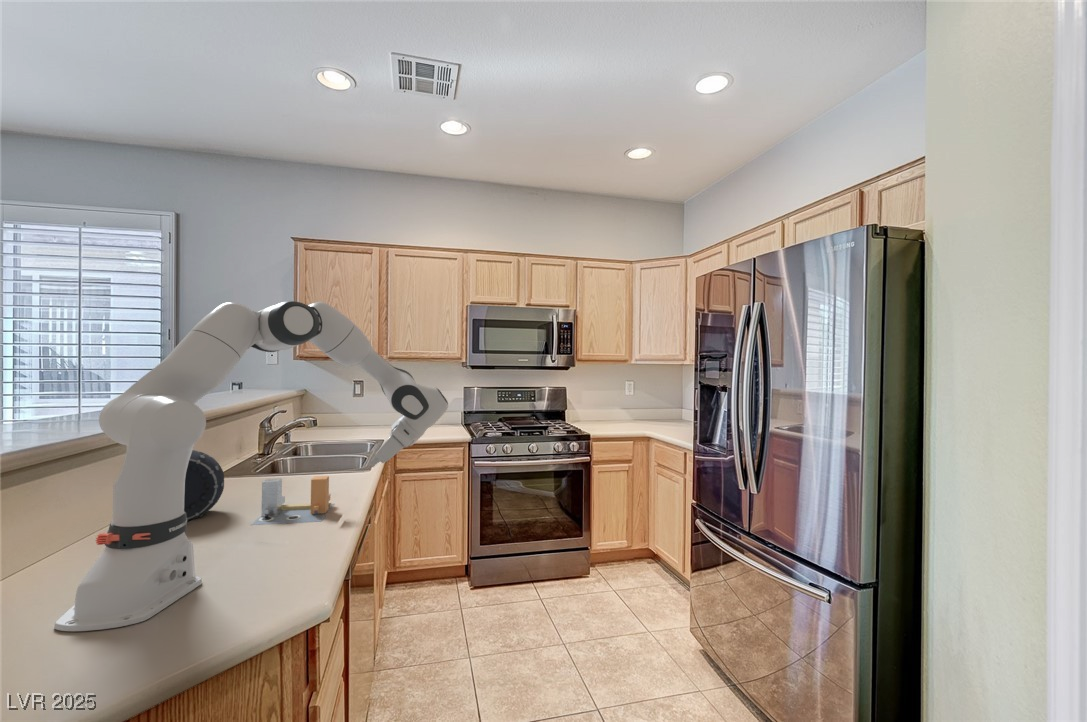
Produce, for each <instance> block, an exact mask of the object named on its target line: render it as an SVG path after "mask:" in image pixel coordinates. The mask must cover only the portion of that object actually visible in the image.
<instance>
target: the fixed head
mask: <svg viewBox="0 0 1087 722" xmlns="http://www.w3.org/2000/svg"><path fill="white" fill-rule="evenodd" d="M282 492H283V478H282V477H281V478H267V479H266V478H265V480H263V481H262V482H261V512H260V513H261V515H260V516H261V517H265V518H268V517H277V516H278V515H279V514H280V513H281V505H284V504H285V503H286V496H283V495H282V494H283V493H282Z"/></svg>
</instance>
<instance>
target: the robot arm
mask: <svg viewBox="0 0 1087 722" xmlns="http://www.w3.org/2000/svg"><path fill="white" fill-rule="evenodd" d="M307 342H309V343H311V344H313V345H314V346H316V347H317V348H318V349H319V350H320V351H321V352H322V353H324V354H325V355H326V356H327V357H328V358H330V359H331V360H332V361H334V362H336V363H338V364H340V365H341V366H343V367H354V366H358V367H359V368H361V369H362V370H364V371H365V372H366V373H368V374H369V376H371V377H373V379H375V380H376V381H377V382H378V383H379V385H380V388H381V391H382V392H383V394H384V395H385V397H386V399H387V401H388V402H389V404H390V406H391V408H392V409H393V410H395V411H396V412H398V413H399V414H401V415H400V417H398V419H396V420H395V421H394V422H393V423H392V424H391V425H390V428H391V431H389V436H388V438H387V439H386V440H385V441H383V443H382V444H381V446H380V447H379V449H378V450H377V451H376V453H375V454H374V457H373V458H372V459H370V461H369V463H368V465H369V466H370V467H371V468H374V467H375V466H376V465H377V464H378V463H380V462H381V464H385V463H387V462H388V461H389V460H390V459H392V458H393V457H394V456H395V455H397V454H398V453H399V452H400V451H402V450H404V448H408V447H412V446H413V445H414V444H415V443H416V442H418V440H419V439H420V438H421V437H423V435H425V433H426V431H427V430H428V429H430V428H431V427H433V426H434V425H435V424H436V422H438V421H439V420H440V419H441V418H442V416H443V415H444V414H445V413H446V412H447V410H448V408H449V402H448V400H447V398H446V397H445V396H444V394H443V392H441V390H440V389H439V388H438V387H429V386H425V385H422V384H420V383H417V382H416V381H415V379H414V377H413V375H412V374H411V373H410V372H409V371H407V370H405V369H401V368H399V367H397V366H396V367H395V366H393V365H392V364H391V363H389V362H388V361H387V360H386V359H385V358H384V357H382V355H380V354H379V353H378V352H376V350H375V349H374V348H373V346H372V344H371V342H370V340H369V339H368V337H367V336H366V335H365V333H364V332H363V331H362V330H361V328H359V327H358V326H357V325H356V324H355V323H354V322H353V321H352V320H351V319H349V317H347V316H346V315H345V314H344V313H342V312H341V311H339V310H337V309H336V308H335V307H333V306H331V305H330V304H328V303H326V302H324V301H316V302H313V303H310V304H308V305H307V304H306V303H303V302H300V301H296V300H295V301H294V300H286V301H282V302H279V303H277V304H274V305H270V306H267V307H265V308H264V309H260V310H259V311H254V310H251V309H250V308H249V307H247V306H245V305H243V304H241V303H238V302H233V301H231V302H228V301H227V302H223V303H221V304H220V305H218V306H217V307H215V308H214V309H213V310H211V311H210V312H209V313H207V314H206V315H205V316H204V317H203V318H202V319H201V320H199V321H198V322H197V324H195V325H194V327H192V329H191V330H190V331H189V332H188V333H187V334H186V335H185V336H184V338H182V339H181V341H180V342H179V343H178V344H177V345H176V346H175V347H174V348H173V349H172V350H171V352H169V354H168V355H166V357H165V358H163V360H162V361H161V362H160V363H158V364H157V365H156V366H155V367H153V368H152V369H151V370H150V371H148V372H147V373H146V374H144V375H143V376H142V377H141V378H140V379H138V380H137V381H136V382H135V383H133V384H132V385H131V386H130V387H129V388H127V390H125V391H124V392H122V393H121V394H120V395H118V396H117V397H115V398H114V399H111V400H110V401H108V402H107V403H106V404H105V405H104V406H103V408H102V409H101V411H100V412H99V413H100V414H99V417H98V423H99V427H100V430H101V431H102V433H104V434H105V435H106V436H107V437H108V438H109V439H110V440H112V441H113V442H115V443H117V444H120V445H124V446H126V450H125V451H126V452H125V457H124V461H123V463H122V467H121V470H120V473H119V475H118V476H117V477H116V478H115V480H114V482H113V491H112V522H110V524H109V527H108V530H107V532H105V533H103V532H101V533H98V535H97V536H96V537H95V539H96V540H95V544H96V545H97V546H101V545H104V546H105V547H104V549H103V550H102V552H101V553H100V555H99V556H98V557H97V559H96V560H95V561H94V563H93V564H92V566H91V567H90V568H89V570H88V571H87V573H86V574H85V575H84V577H83V578H82V580H81V581H80V582H79V584H78V585H77V588H76V591H75V592H76V593H75V600H74V604H73V605H72V606H71V607H70V608H69V609H68V610H67V611H66V612H65V613H63V614H62V615H61V616H60V617H59V618H58V619H57V620H56V621H55V622H54V627H53V628H54V629H55V630H57V631H61V632H88V631H98V630H99V631H100V630H107V629H114V628H120V627H125V626H131V625H134V624H138V623H141V622H145V621H147V620H149V619H151V618H152V617H154V616H155V615H156V614H158V613H160V612H162V610H164V609H166V608H168V607H169V606H170V605H172V604H173V603H175V602H176V601H178V600H179V599H181V598H182V597H184V596H186V595H187V594H189V593H190V592H192V591H193V590H195V589H196V588H197V587H199V586H201V585H202V583H203V579H202V577H201V576H198V575H196V568H195V554H194V551H195V550H194V544H193V542H192V541H191V540H189V538H188V537H187V534H186V533H185V532H186V531H187V524H188V521H187V516H186V512H185V511H184V496H185V477H186V471H187V467H188V463H189V460H190V456H191V453H192V450H194V446H195V445H196V443H197V442H199V440H200V439H201V438H202V437H203V435H204V433H205V431H206V427H207V417H206V416H205V415H206V414H205V412H204V411H203V410H202V409H201V408H200V407H199V406H198V405H197V404H196V403H197V402H198V401H199V400H201V399H203V398H204V397H205V396H207V395H208V394H210V393H211V392H214V391H215V390H217V388H219V387H220V385H221V384H222V383H223V382H224V380H226V377H228V376H229V374H230V373H231V372H232V370H233V369H234V368H235V367H236V366H237V364H238V362H239V361H240V360H241V359H242V358H243V356H244V355H245V353H247V350H249V349H250V348H253V349H256V350H258V351H262V352H264V353H265V352H267V353H275V352H279V351H285V350H289V349H290V350H291V349H292V348H295V347H297V346H299V345H303V344H305V343H307Z"/></svg>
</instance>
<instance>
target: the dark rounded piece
mask: <svg viewBox="0 0 1087 722" xmlns="http://www.w3.org/2000/svg"><path fill="white" fill-rule="evenodd" d="M224 488H225V473H224V470H223V468H222V466H221V465H220V463H218V461H217V460H216V459H215V458H214V457H213V456H212V455H209V454H207V453H205V452H202V451H200V450H194V449H193V450H192V453H191V456H190V460H189V463H188V467H187V471H186V477H185V496H184V511H185V512H186V516H187V522H189V521H192V520H194V519H197V518H202V517H203V516H204V515H205V514H206V513H207V512H209V511H210V510H212V508H213V507H215V505H216V504H217V503H218V502H219V500H220V498H221V496H222V495H223V492H224Z"/></svg>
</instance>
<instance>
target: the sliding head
mask: <svg viewBox="0 0 1087 722" xmlns="http://www.w3.org/2000/svg"><path fill="white" fill-rule="evenodd" d="M329 492H330V476H329V475H320V476H319V475H317V476H316V475H315V476H314V477H312V478H311V479H310V504H311V514H315V515H316V514H319V513H326V512H327V510H328V505H329V503H330V500H331V493H329Z"/></svg>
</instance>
